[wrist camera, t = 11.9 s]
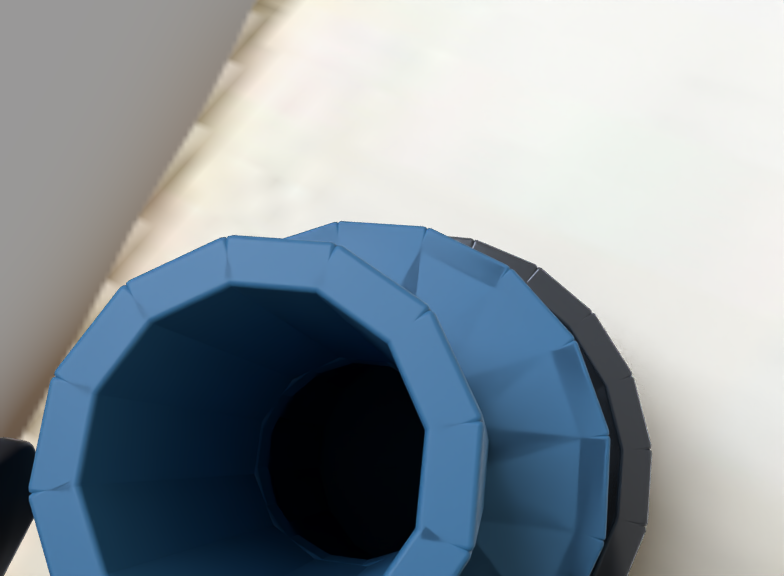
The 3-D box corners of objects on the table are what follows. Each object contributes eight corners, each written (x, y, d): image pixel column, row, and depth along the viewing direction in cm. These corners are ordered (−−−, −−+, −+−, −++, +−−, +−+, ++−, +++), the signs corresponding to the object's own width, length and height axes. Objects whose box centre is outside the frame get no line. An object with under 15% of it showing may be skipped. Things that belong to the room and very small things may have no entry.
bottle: (540, 601, 18) (692, 1083, 4) (295, 567, 18) (-248, 865, 5) (556, 351, 19) (712, 75, 5) (326, 330, 20) (-40, 51, 6)
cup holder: (523, 721, 17) (533, 809, 13) (198, 538, 19) (113, 561, 15) (670, 369, 19) (723, 342, 14) (352, 231, 21) (314, 171, 16)
